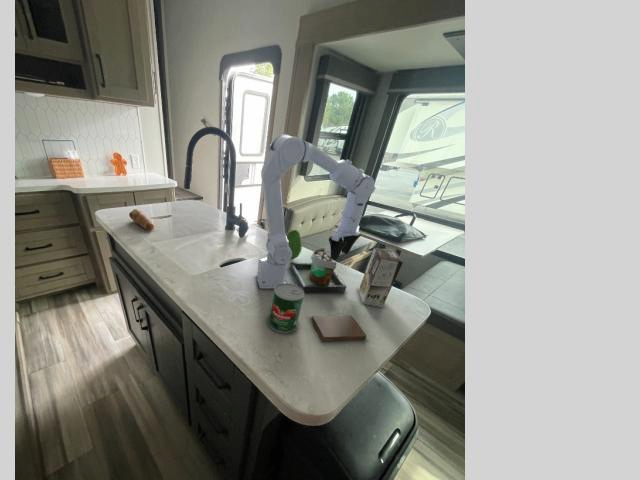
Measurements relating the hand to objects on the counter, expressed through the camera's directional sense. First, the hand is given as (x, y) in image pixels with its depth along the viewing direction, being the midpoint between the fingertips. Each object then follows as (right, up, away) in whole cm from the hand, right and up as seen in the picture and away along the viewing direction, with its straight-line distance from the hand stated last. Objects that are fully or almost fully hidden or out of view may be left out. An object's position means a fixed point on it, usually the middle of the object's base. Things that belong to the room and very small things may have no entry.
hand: (339, 255), depth 91 cm
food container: (-7, -8, +6) cm, 12 cm away
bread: (-81, +21, +40) cm, 92 cm away
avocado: (-13, +7, +16) cm, 22 cm away
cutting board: (-7, -23, -16) cm, 29 cm away
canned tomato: (-22, -22, -16) cm, 35 cm away
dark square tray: (-7, -8, +6) cm, 12 cm away
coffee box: (+10, -15, -2) cm, 18 cm away
